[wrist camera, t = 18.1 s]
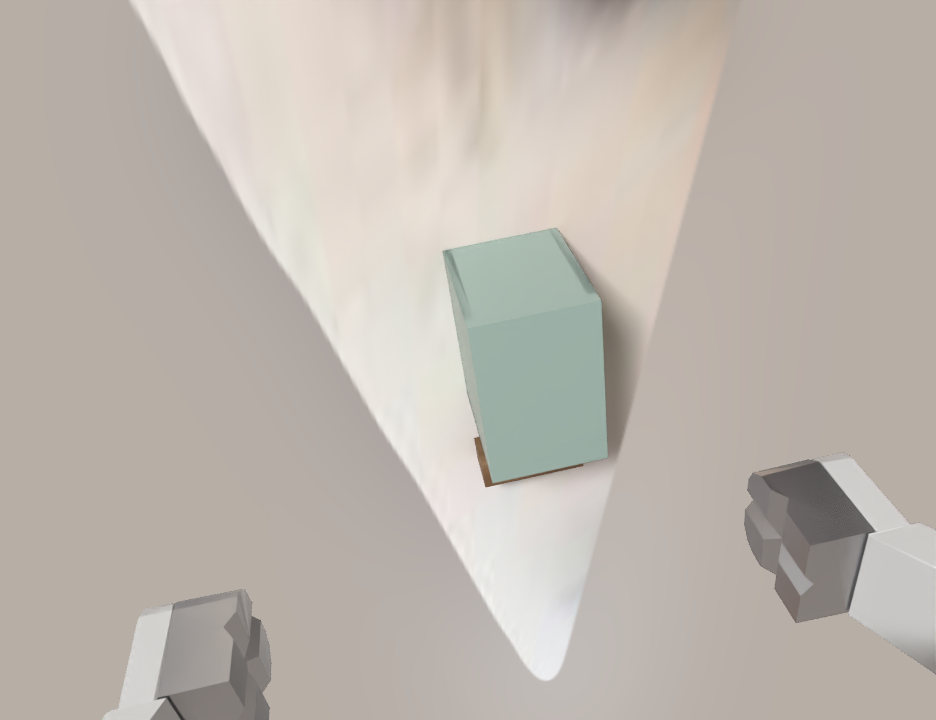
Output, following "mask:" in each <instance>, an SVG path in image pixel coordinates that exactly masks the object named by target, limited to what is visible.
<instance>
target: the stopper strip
mask: <svg viewBox="0 0 936 720" xmlns="http://www.w3.org/2000/svg"><path fill="white" fill-rule="evenodd" d="M474 439H475V445H476V451H477V456H478V461H479V465H480V468H481V472H482V476H483V480H484V483H485V487H490V486H494V485H499V484H503V483H508V482H512V481H517V480H521V479H526V478H530V477H535V476H539V475H544V474H548V473H553V472H557V471H562V470H566V469H571V468H575V467H580V466H583V463H582V464H578V465H573V466H569V467H564V468H560V469H555V470H551V471H546V472H542V473H537V474H533V475H528V476H524V477H519V478H515V479H510V480H506V481H501V482H497V483H492V479H491V476H490V472H489V469H488V465H487V461H486V458H485V454H484V451H483V447H482V443H481V440H480V437H477V438H474Z"/></svg>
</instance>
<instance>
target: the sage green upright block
mask: <svg viewBox="0 0 936 720" xmlns="http://www.w3.org/2000/svg"><path fill="white" fill-rule="evenodd" d="M443 256H444V261H445V267H446V273H447V278H448V284H449V290H450V296H451V301H452V307H453V313H454V319H455V324H456V330H457V336H458V341H459V347H460V353H461V359H462V364H463V370H464V376H465V382H466V387H467V393H468V397H469V401H470V404H471V408H472V411H473V415H474V418H475V422H476V426H477V429H478V433H479V436H480V440H481V443H482V447H483V451H484V454H485V458H486V461H487V465H488V469H489V472H490V476H491V479H492V483H497V482H501V481H506V480H510V479H515V478H519V477H524V476H528V475H533V474H537V473H542V472H546V471H551V470H555V469H560V468H564V467H569V466H573V465H578V464H582V463H587V462H591V461H596V460H600V459H605V458H608V450H607V426H606V401H605V377H604V353H603V328H602V304H601V299H600V297H599V296H598V294H597V293H596V291H595V289H594V288H593V286H592V284H591V283H590V281H589V280H588V278H587V276H586V275H585V273H584V272H583V270H582V268H581V267H580V265H579V264H578V262H577V260H576V259H575V257H574V255H573V254H572V252H571V251H570V249H569V247H568V246H567V244H566V243H565V241H564V239H563V238H562V236H561V235H560V233H559V231H558V230H557V228H554V229H549V230H544V231H539V232H534V233H529V234H524V235H519V236H514V237H509V238H504V239H499V240H495V241H490V242H485V243H480V244H475V245H470V246H465V247H460V248H455V249H450V250H445V251H443Z"/></svg>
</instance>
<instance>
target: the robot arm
mask: <svg viewBox="0 0 936 720" xmlns="http://www.w3.org/2000/svg"><path fill="white" fill-rule="evenodd" d="M747 490H748V492H749V494H750V495H751V497H752V498H753V501H752V502H751V504H750V505H749V506H748V507H747V508H746V510H745V523H744V525H745V530H746V535H747V539H748V542H749V545H750V547H751V550H752V552H753V554H754V555H755V557H756V559H757V561H758V562H759V564H760V566H762V567H763V568H765V569H767V570H769V571H770V572H772V573H774V574H776V582H775V590H776V592H777V593H778V595H779V596H780V598H781V600H782V601H783V603H784V605H785V606H786V608H787V609H788V611H789V613H790V614H791V616H792V617H793V619H794V620H795V622H796V623H798V622H803V621H808V620H813V619H818V618H822V617H827V616H832V615H836V614H841V613H846V612H849V614H848V615H849V616H851V617H852V618H854V619H855V620H857V621H858V622H860V623H861V624H863V625H864V626H865V627H867V628H868V629H870V630H871V631H873V632H874V633H876V634H877V635H879V636H881V637H882V638H883V639H885V640H886V641H888V642H889V643H891V644H892V645H894V646H895V647H897V648H898V649H900V650H901V651H902V652H904V653H905V654H907V655H908V656H910V657H911V658H913V659H914V660H916V661H917V662H919V663H920V664H922V665H923V666H924V667H926V668H927V669H929V670H930V671H932V672H933V673H935V674H936V529H933V528H931V527H929V526H927V525H924V524H922V523H920V522H919V523H914V524H910V523H909V522H908V521H907V519H905V517H904V516H903V515H902V514H901V513H900V512H899V510H898V509H897V508H896V507H895V506H894V505H893V504H892V502H891V501H890V500H889V499H888V498H887V497H886V496H885V495H884V493H883V492H882V491H881V490H880V489H879V488H878V487H877V485H876V484H875V483H874V482H873V481H872V480H871V479H870V478H869V477H868V475H867V474H866V473H865V472H864V471H863V470H862V469H861V467H860V466H859V465H858V464H857V463H856V462H855V461H854V460H853V458H852V457H851V456H850V455H848V454H846V453H844V452H841V453H837V454H832V455H828V456H824V457H819V458H815V459H812V460H805V461H801V462H796V463H792V464H788V465H784V466H779V467H775V468H771V469H767V470H763V471H759V472H754V473H752V475H751V476H750V478H749V482H748V489H747ZM251 615H252V601H251V599H250V598H249V596H248V594H247V592H246V590H245V589H244V590H243V589H241V590H235V591H230V592H225V593H220V594H215V595H210V596H205V597H200V598H195V599H190V600H185V601H180V602H177V603H172V604H167V605H162V606H158V607H153V608H148V609H144V611H143V612H142V614H141V616H140V617H139V619H138V622H137V626H136V630H135V635H134V639H133V644H132V649H131V653H130V658H129V662H128V667H127V672H126V676H125V680H124V685H123V689H122V694H121V698H120V703H119V707H118V709H115V710H111V711H108V712H107V714H106V715H105V716H104V717H103V718H102V719H101V720H269V709H270V707H269V705H268V703H267V701H266V699H265V697H264V696H263V694H262V693H263V691H264V690H265V688H266V687H267V685H268V684H269V682H270V681H271V657H270V647H269V641H268V638H267V634H266V631H265V628H264V626H263V624H262V622H261V620H259V619H257V618H255V617H253V616H251Z"/></svg>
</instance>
